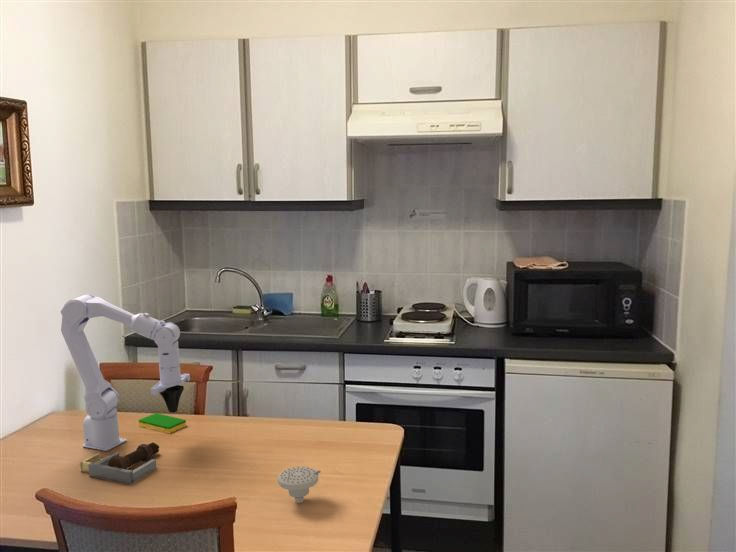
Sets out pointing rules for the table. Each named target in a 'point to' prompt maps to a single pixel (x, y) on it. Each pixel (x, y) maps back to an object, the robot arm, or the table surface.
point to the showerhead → (298, 481)
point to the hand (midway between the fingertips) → (172, 411)
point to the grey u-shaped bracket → (120, 471)
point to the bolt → (134, 456)
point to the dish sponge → (162, 422)
